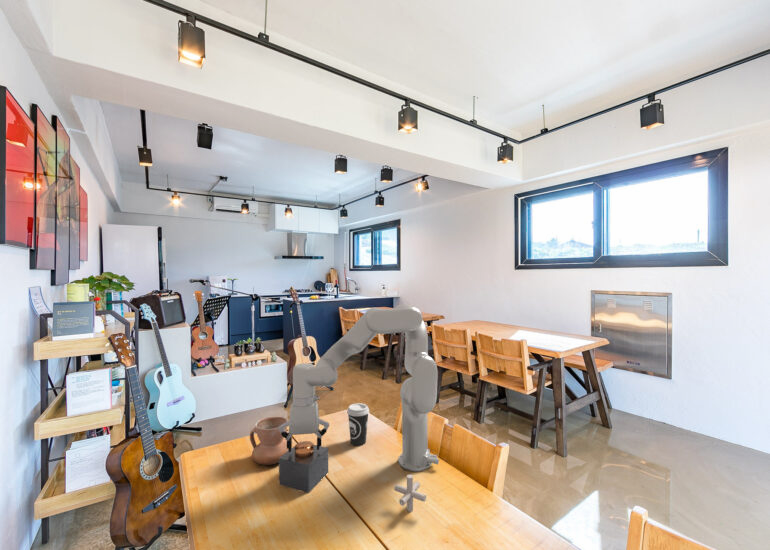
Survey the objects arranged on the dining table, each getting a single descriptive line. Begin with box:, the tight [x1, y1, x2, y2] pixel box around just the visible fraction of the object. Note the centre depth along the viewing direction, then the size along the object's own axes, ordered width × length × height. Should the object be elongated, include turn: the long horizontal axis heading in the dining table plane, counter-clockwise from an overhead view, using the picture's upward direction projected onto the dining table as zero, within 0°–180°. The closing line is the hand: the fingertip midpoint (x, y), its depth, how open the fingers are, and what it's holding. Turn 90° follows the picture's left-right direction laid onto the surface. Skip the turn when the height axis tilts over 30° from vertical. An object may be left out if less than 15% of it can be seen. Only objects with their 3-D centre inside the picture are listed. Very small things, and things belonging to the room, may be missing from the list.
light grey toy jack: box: [393, 474, 427, 512], centre depth 100 cm, size 10×10×10 cm
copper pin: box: [294, 440, 315, 458], centre depth 116 cm, size 6×6×10 cm
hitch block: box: [278, 444, 329, 494], centre depth 116 cm, size 12×12×9 cm
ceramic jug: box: [249, 416, 289, 466], centre depth 129 cm, size 18×14×14 cm
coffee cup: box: [346, 402, 370, 447], centre depth 141 cm, size 10×10×15 cm
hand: (304, 449), depth 116 cm, fingers open, 9 cm apart
